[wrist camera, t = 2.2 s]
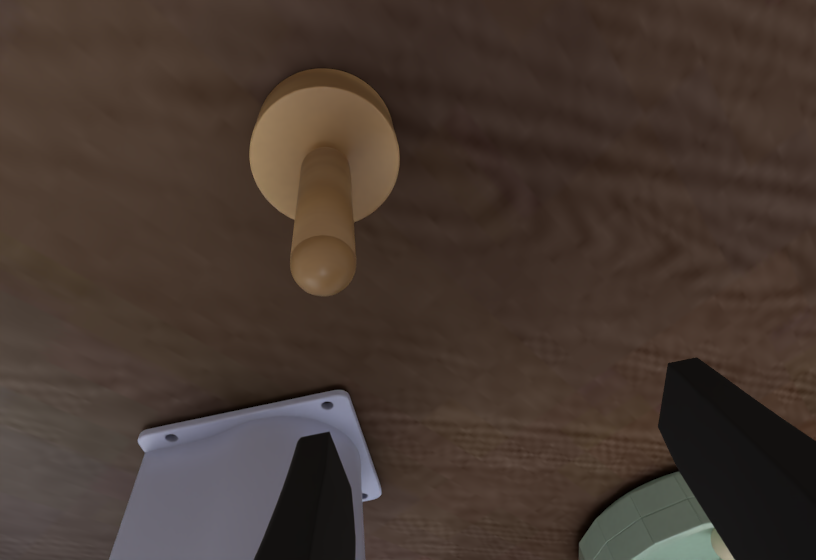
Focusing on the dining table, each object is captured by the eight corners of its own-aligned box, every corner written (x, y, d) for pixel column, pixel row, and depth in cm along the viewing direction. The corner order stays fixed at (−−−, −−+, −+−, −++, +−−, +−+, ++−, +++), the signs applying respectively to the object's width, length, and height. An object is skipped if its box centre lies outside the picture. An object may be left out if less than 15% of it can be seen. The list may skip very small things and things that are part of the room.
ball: (700, 538, 35) (722, 576, 33) (705, 517, 33) (728, 556, 31) (737, 530, 35) (761, 568, 33) (744, 509, 33) (770, 547, 31)
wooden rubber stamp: (281, 210, 19) (253, 379, 12) (236, 84, 17) (171, 210, 10) (404, 184, 19) (443, 339, 12) (379, 53, 16) (410, 159, 10)
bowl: (574, 594, 38) (594, 650, 35) (576, 485, 31) (601, 545, 28) (760, 556, 38) (794, 609, 35) (807, 437, 31) (856, 493, 28)
